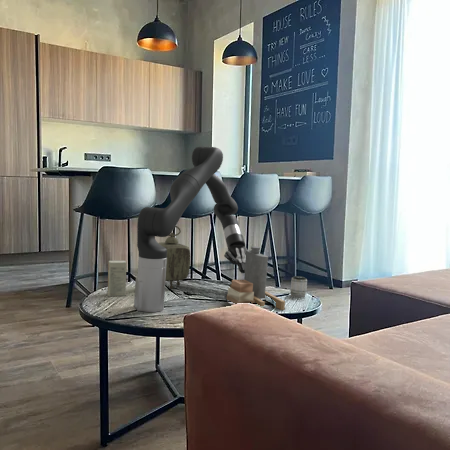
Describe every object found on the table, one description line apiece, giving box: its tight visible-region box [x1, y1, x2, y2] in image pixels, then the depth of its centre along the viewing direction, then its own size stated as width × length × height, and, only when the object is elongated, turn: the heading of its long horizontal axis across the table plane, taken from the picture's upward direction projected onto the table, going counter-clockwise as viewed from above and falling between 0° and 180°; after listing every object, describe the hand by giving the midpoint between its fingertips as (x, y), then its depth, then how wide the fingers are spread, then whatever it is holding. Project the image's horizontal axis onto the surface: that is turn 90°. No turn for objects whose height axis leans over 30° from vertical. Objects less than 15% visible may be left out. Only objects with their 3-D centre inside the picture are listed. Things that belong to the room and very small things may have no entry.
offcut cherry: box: [231, 278, 253, 293], centre depth 161 cm, size 5×7×3 cm
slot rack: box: [229, 283, 286, 311], centre depth 170 cm, size 10×28×3 cm, turn 22°
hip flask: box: [243, 246, 269, 299], centre depth 172 cm, size 16×4×20 cm, turn 20°
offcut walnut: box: [226, 294, 255, 304], centre depth 162 cm, size 7×9×3 cm
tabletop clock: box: [158, 225, 191, 290], centre depth 177 cm, size 14×9×25 cm, turn 122°
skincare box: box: [107, 260, 127, 297], centre depth 162 cm, size 6×4×12 cm
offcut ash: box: [227, 286, 254, 301], centre depth 161 cm, size 6×8×3 cm
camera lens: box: [290, 275, 308, 299], centre depth 181 cm, size 6×6×8 cm
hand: (243, 272), depth 180 cm, fingers closed
